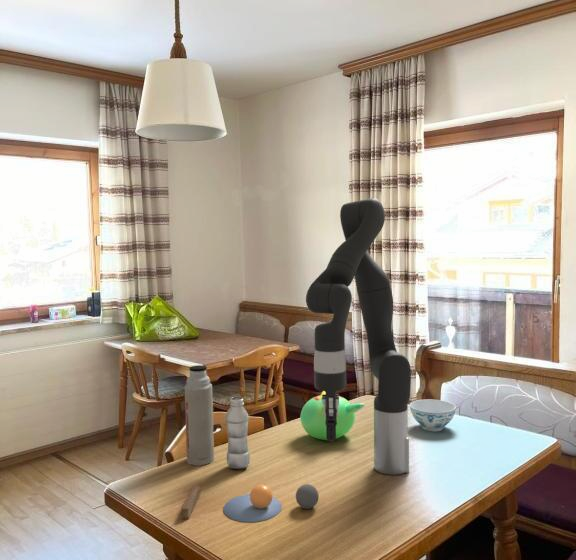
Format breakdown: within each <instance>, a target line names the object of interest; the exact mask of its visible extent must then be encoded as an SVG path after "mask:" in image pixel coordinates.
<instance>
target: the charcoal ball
mask: <svg viewBox="0 0 576 560" xmlns="http://www.w3.org/2000/svg"><path fill="white" fill-rule="evenodd" d="M295 499H296V500H295V501H296V503H297V504H298V506H299V507H301V508H303V509H306V510H307V509H312V508H314V507H315V506H317V504H318V502H319V491H318V489H317V488H316V487H315V486H314V485H312V484H309V483H306V484H305V483H304V484H303V485H300V486H299V487H298V488H297V490H296V493H295Z"/></svg>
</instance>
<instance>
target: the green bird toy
mask: <svg viewBox="0 0 576 560" xmlns="http://www.w3.org/2000/svg"><path fill="white" fill-rule="evenodd" d="M322 394H326V392H325V391H321V393H320V394H319V395H317V396H314V397H312V398H310V399H309V400H308V401H307V402H306V403H305V404H304V405H303V406H302V409H301V412H300V417H299V420H300V423H301V426H302V428H303V430H304V431H305V433H307V434H308V435H309V436H311V437H313V438H315V439H317V440H324V441H327V435H326V424H325V420H326V417H324V407H323V405H322ZM364 407H365V403H362V402H361V403H360V402H359V403H350V401H348V400H347V399H346V398H344V397H343V396H340V395H339V405H338V417H336V420H337V424H336V439H340V438H341V437H343V436H345V435H346V434H347V433H348V432H350V430H351V429H352V428H353V426H354V424H355V421H356V412H358V411H360V410H362V409H363V408H364Z"/></svg>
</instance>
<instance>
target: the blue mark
mask: <svg viewBox="0 0 576 560" xmlns="http://www.w3.org/2000/svg"><path fill="white" fill-rule="evenodd" d="M281 511H282V503H281V501H280V500H279V499H277V497H274V496H273V498H272V502H271V503H270V505H269V506H268V507H266V508H264V509H259V508H256V507H254V506H253V505H252V503H251V501H250V493H249V494H242V495H239V496H236V497H233V498H232V499H229V500H228V501H227V502H225V504H224V506H223V513H224V515H225V516H226V517H227V518H229V519H232V520H233V521H237V522H242V523H257V522H263V521H267V520H270V519H272V518H274V517H276V516H277V515H279V514H280V512H281Z"/></svg>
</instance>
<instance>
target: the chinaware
mask: <svg viewBox="0 0 576 560" xmlns="http://www.w3.org/2000/svg"><path fill="white" fill-rule="evenodd" d="M409 409H410V411H411V412H410V413H411V415H412V417H413V419H414V420H415V421H416V423H418V424H419V425H421V427H422V429H423V430H424V431H428V432H440V431H443V429H444V427H446V426H447V425H448V424H450V422H451V421H452V420H453V418H454V416H455V413H456V409H457V407H456V405H455V404H454V403H452V402H449V401H446V400H440V399H429V398H427V399H417V400H413V401H412V402H410V404H409Z"/></svg>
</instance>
